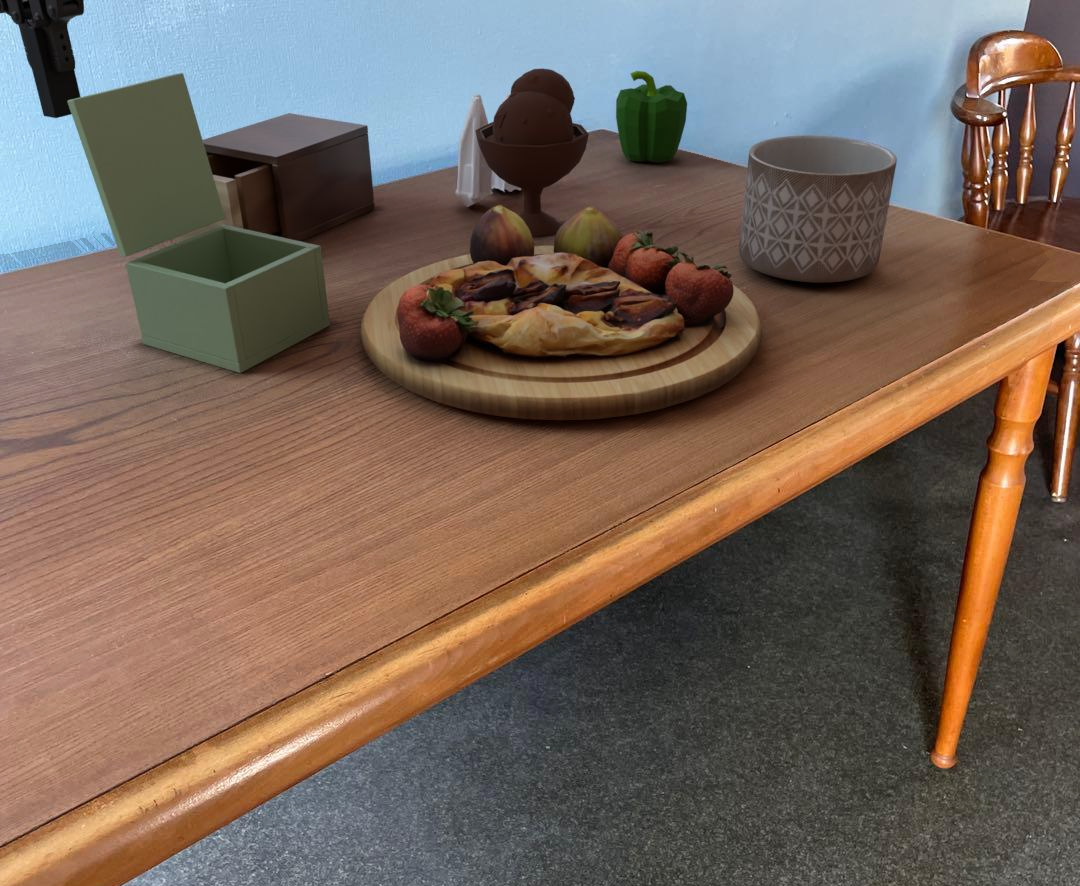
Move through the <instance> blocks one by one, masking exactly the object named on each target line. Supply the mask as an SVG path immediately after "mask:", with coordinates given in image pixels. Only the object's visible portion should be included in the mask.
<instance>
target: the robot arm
mask: <svg viewBox="0 0 1080 886" xmlns="http://www.w3.org/2000/svg"><path fill="white" fill-rule="evenodd" d="M84 13H85V1H84V0H0V14H6V15H8V16H10V18H11V20H12V22H13V23H14V24H15V25H18V28H19V29H18V30H19V33H20V36H21V40H22V44H23V48H24V52H25V56H26V60H27V63H28V65H29V67H30V68H31V72H32V75H33V79H34V83H35V88H36V91H37V95H38V98H39V104H40V106H41V112H42V115H43V117H47V118H53V119H58V118H63V117H67V116H70V115H71V116H72V114H71V111H70V108H69V105H68V102H67V101H68V100H71V99H75V98H79V97H82V96H81V93H80V88H79V84H78V79H77V75H76V71H75V70H76V59H75V55H74V51H73V46H72V41H71V37H70V33H69V28H68V24H69V22H70V21H71V20H72V19H74V18H75V17H78V16H82V15H84Z"/></svg>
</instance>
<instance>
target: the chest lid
mask: <svg viewBox="0 0 1080 886" xmlns="http://www.w3.org/2000/svg"><path fill="white" fill-rule="evenodd" d="M67 102H68V105H69V108H70V111H71V116H72V117H71V118H72V120H73V122H74V125H75V129H76V131H77V135H78V137H79V140H80V142H81V146H82V148H83V152H84V154H85V155H84V156H85V157H86V161H87V163H88V166H89V169H90V172H91V175H92V177H93V181H94V184H95V187H96V189H97V192H98V195H99V198H100V201H101V204H102V207H103V210H104V212H105V216H106V219H107V222H108V224H109V227H110V230H111V232H112V236H113V239H114V242H115V244H116V248H117V251H118V254H119V256H120V257H121V258H123V257H125V258H126V257H129V256H132V255H135V254H138V253H140V252H143V251H145V250H148V249H151V248H153V247H155V246H158V245H160V244H164V243H165V242H169V241H172V240H171V239H174V238H176V237H179V236H181V235H184V234H187V233H189V232H192V231H194V230H197V229H200V228H202V227H205V226H207V225H210V224H213V223H215V222H218V221H220V220H223V219H225V216H224V212H223V209H222V205H221V202H220V198H219V195H218V192H217V188H216V185H215V181H214V178H213V174H212V171H211V167H210V164H209V161H208V157H207V154H206V150H205V147H204V143H203V140H204V139H203V137H202V133H201V130H200V126H199V123H198V119H197V117H196V111H195V110H194V105H193V102H192V99H191V95H190V92H189V89H188V85H187V82H186V79H185V75H184V73H183V72H179V73H174V74H170V75H166V76H161V77H159V78H153V79H149V80H145V81H142V82H137V83H133V84H129V85H125V86H121V87H117V88H113V89H109V90H104V91H101V92H96V93H93V94H92V93H91V94H88V95H84V96H81V97H79V98H75V99H71V100H68V101H67Z"/></svg>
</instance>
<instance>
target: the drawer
mask: <svg viewBox="0 0 1080 886" xmlns="http://www.w3.org/2000/svg"><path fill="white" fill-rule="evenodd" d="M207 157H208V161H209V164H210V167H211V171H212V174H213V178H214V181H215V185H216V188H217V192H218V195H219V198H220V202H221V205H222V209H223V212H224V216H225V219H223V220H220V221H218V222H215V223H213V224H210V225H207V226H205V227H202V228H200V229H197V230H194V231H192V232H189V233H187V234H184V235H181V236H179V237H176V238H174V239H171V240H170V241H176V242H180V241H182V240H185V239H187V238H190V237H192V236H195V235H197V234H200V233H203V232H205V231H208V230H210V229H213V228H215V227H218V226H220V225H223V224H224V225H229V226H233V227H238V228H242V229H247V230H251V231H256V232H260V233H265V234H269V235H271V234H274V233H276V232H279V231H281V224H280V217H279V210H278V203H277V196H276V189H275V182H274V174H273V167H272V165H273V164H268V163H263V162H258V161H252V160H247V159H242V158H236V157H231V156H226V155H220V154H215V153H213V154H210V155H207Z"/></svg>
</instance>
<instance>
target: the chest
mask: <svg viewBox="0 0 1080 886" xmlns="http://www.w3.org/2000/svg"><path fill="white" fill-rule="evenodd" d="M124 264H125V268H126V272H127V277H128V281H129V286H130V290H131V295H132V299H133V303H134V308H135V313H136V317H137V321H138V322H137V323H138V325H139V330H140V334H141V339H142V344H143V345H145V346H149V347H152V348H155V349H159V350H162V351H165V352H168V353H172V354H175V355H179V356H182V357H185V358H188V359H192V360H195V361H199V362H202V363H206V364H208V365H212V366H215V367H219V368H222V369H224V370H225V369H226V370H229V371H233V372H236V373H238V374H241V373H243V372H245V371H247V370H249V369H251V368H253V367H255V366H256V365H259V364H260V363H263V362H264V361H266V360H268V359H270V358H271V357H274V356H275V355H277V354H279V353H281V352H283V351H285V350H287V349H289V348H290V347H292V346H294V345H296V344H298V343H299V342H302V341H304V340H306V339H308V338H309V337H311V336H313V335H314V334H317V333H318V332H320V331H322V330H324V329H326V328H328V327H329V326H331V322H330V321H331V320H330V311H329V305H328V297H327V287H326V279H325V272H324V271H325V270H324V264H323V254H322V247H321V245H318V244H313V243H310V242H304V241H296V240H292V239H287V238H283V237H278V236H274V235H269V234H265V233H260V232H256V231H251V230H247V229H242V228H238V227H233V226H229V225H224V224H223V225H220V226H218V227H215V228H213V229H210V230H208V231H205V232H203V233H200V234H197V235H195V236H192V237H190V238H187V239H185V240H182V241H176V242H175V243H172V244H168V245H167V246H164V247H162V248H159V249H157V250H154V251H152V252H149V253H147V254H144V255H141V256H138V257H136V258H134V259H131V260H129V261H127V262H125V263H124Z"/></svg>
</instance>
